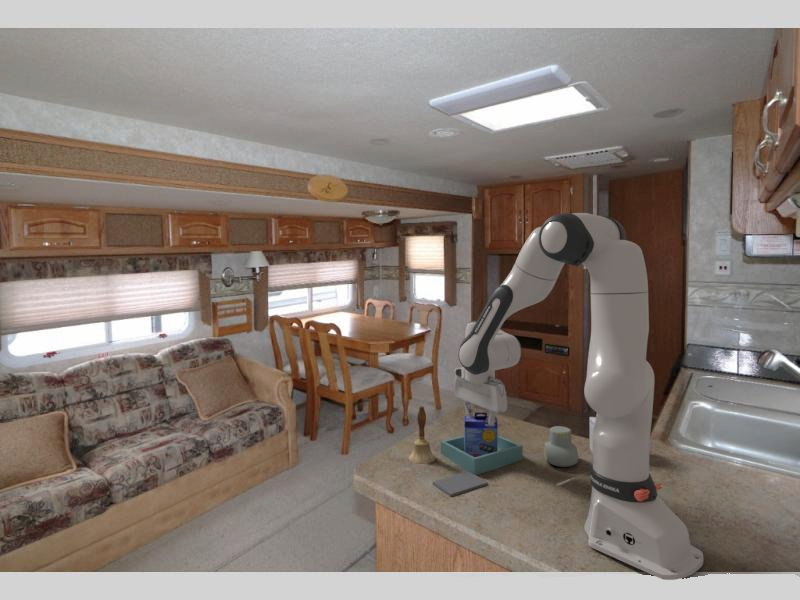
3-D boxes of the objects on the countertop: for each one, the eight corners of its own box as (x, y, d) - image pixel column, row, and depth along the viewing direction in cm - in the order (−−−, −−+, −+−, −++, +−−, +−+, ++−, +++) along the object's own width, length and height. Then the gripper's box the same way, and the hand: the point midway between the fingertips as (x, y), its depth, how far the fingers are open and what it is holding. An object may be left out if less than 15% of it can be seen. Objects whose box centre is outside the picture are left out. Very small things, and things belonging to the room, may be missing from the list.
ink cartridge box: (464, 461, 135) (463, 413, 134) (464, 454, 140) (463, 407, 140) (498, 462, 133) (498, 413, 133) (497, 455, 139) (496, 408, 138)
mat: (487, 484, 120) (487, 482, 120) (450, 496, 114) (450, 494, 114) (468, 473, 127) (468, 471, 127) (432, 484, 121) (432, 481, 121)
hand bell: (414, 452, 143) (413, 401, 142) (439, 456, 139) (438, 404, 138) (403, 462, 135) (402, 409, 134) (430, 467, 132) (429, 412, 131)
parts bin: (522, 460, 134) (522, 445, 134) (474, 475, 125) (474, 459, 125) (486, 443, 148) (486, 429, 148) (440, 455, 139) (440, 441, 139)
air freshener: (579, 472, 126) (579, 436, 126) (548, 470, 128) (548, 435, 127) (571, 456, 137) (571, 423, 136) (543, 454, 138) (542, 422, 138)
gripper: (512, 379, 128) (512, 427, 129) (466, 366, 146) (466, 408, 147) (495, 382, 125) (495, 432, 126) (450, 368, 143) (450, 412, 144)
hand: (479, 419), depth 136 cm, fingers open, 8 cm apart
